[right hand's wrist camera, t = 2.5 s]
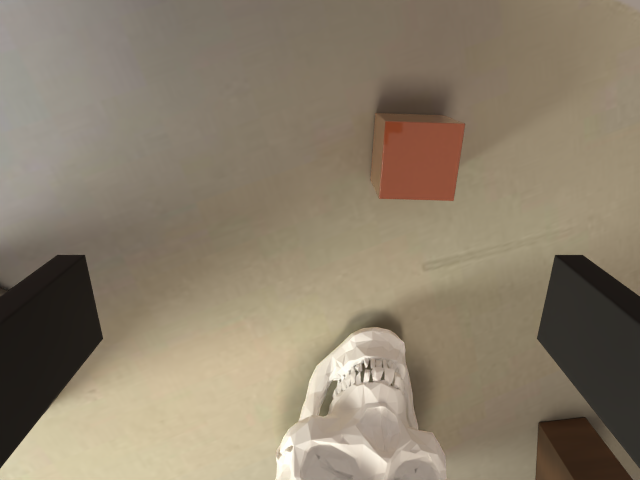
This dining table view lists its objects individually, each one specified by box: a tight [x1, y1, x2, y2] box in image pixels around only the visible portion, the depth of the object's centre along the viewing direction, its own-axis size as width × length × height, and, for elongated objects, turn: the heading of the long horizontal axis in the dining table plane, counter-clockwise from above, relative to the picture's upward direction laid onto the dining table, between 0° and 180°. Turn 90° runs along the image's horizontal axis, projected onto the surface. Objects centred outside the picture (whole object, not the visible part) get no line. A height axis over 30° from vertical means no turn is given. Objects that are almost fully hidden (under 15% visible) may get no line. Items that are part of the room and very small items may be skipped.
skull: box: [276, 327, 447, 480], centre depth 35 cm, size 13×22×16 cm, turn 173°
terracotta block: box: [370, 113, 465, 201], centre depth 31 cm, size 5×5×5 cm
